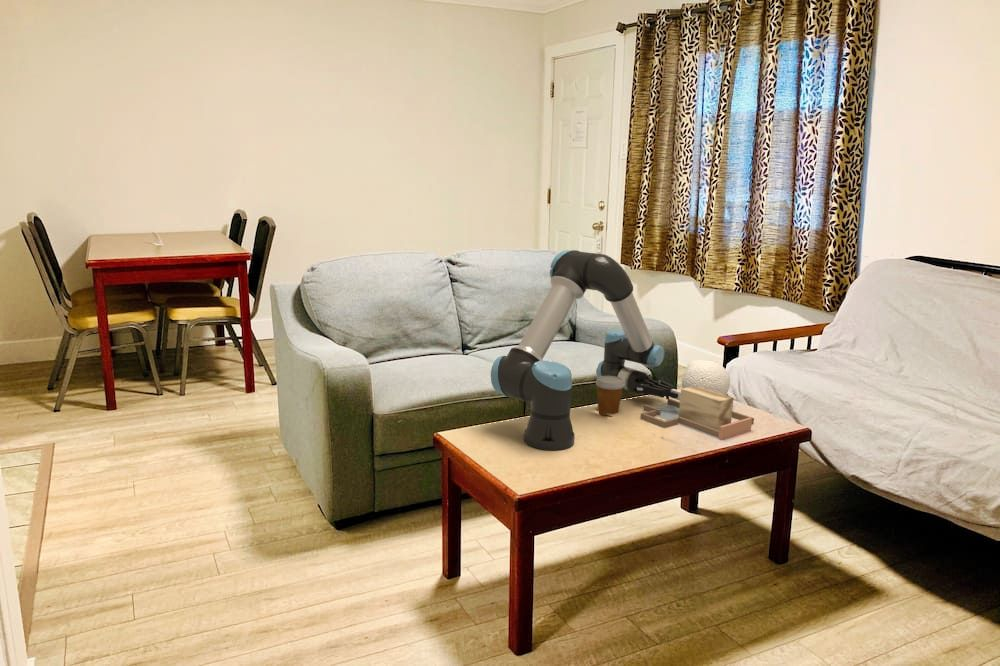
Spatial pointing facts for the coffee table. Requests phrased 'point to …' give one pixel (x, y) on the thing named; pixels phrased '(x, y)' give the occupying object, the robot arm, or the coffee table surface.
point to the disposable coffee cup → (609, 394)
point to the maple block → (705, 407)
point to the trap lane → (672, 418)
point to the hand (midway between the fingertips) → (687, 398)
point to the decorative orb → (706, 376)
